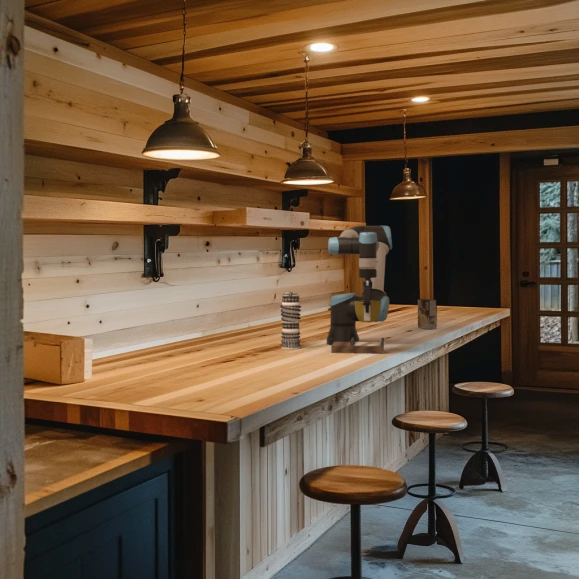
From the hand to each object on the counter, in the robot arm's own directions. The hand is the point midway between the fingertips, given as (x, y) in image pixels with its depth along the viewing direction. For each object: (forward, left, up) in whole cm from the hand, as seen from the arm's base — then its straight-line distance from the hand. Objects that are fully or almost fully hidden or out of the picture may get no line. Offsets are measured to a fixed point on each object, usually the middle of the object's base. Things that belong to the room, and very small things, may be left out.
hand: (367, 319), depth 318 cm
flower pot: (0, 0, -1) cm, 1 cm away
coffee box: (+30, +94, -14) cm, 100 cm away
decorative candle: (-34, +5, -14) cm, 37 cm away
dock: (-4, 0, -14) cm, 14 cm away
